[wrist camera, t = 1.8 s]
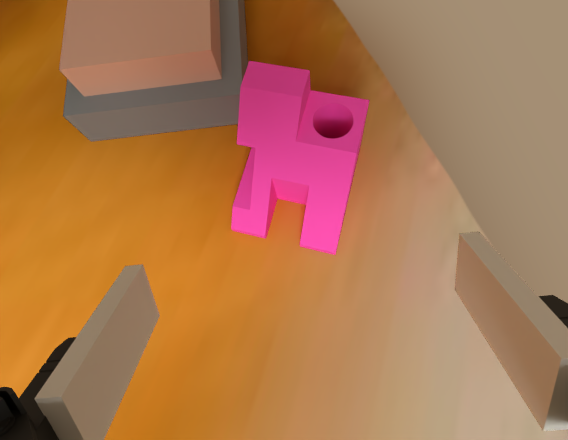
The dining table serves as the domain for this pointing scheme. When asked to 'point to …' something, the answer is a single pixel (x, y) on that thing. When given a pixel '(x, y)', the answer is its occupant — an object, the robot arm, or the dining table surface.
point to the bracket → (296, 152)
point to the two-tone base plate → (152, 65)
